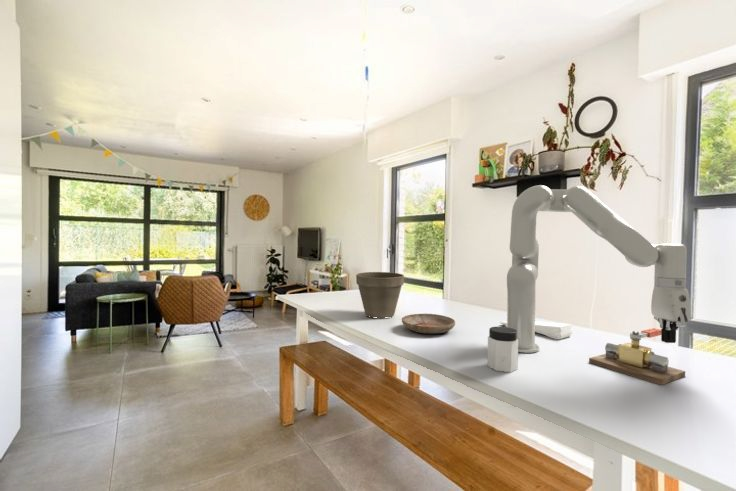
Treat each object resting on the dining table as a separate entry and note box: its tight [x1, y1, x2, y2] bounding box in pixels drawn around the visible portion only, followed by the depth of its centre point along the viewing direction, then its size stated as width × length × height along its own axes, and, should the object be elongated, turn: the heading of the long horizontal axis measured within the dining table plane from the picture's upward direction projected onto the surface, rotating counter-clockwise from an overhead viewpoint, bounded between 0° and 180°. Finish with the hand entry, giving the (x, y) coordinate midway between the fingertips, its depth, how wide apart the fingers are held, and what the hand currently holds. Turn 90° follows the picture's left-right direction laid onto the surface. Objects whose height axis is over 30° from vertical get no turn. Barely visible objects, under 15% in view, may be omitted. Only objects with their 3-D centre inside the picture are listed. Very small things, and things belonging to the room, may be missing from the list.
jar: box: [486, 326, 519, 373], centre depth 112 cm, size 9×8×12 cm
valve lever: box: [629, 327, 662, 341], centre depth 115 cm, size 15×3×2 cm, turn 118°
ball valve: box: [604, 339, 669, 374], centre depth 112 cm, size 5×16×8 cm, turn 28°
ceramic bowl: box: [401, 313, 456, 335], centre depth 157 cm, size 23×24×5 cm
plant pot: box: [355, 271, 405, 318], centre depth 185 cm, size 25×25×22 cm
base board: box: [588, 353, 686, 386], centre depth 112 cm, size 14×20×2 cm
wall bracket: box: [500, 320, 573, 340], centre depth 157 cm, size 10×7×28 cm
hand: (668, 341), depth 111 cm, fingers closed
